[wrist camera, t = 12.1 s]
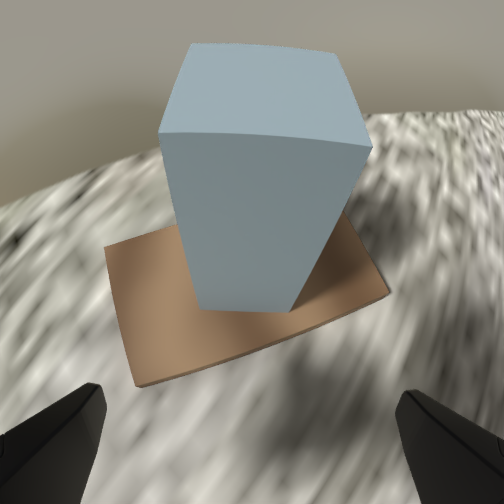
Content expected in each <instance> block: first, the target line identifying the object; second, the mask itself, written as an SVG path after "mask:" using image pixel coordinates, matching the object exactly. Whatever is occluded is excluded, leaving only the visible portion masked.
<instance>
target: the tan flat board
mask: <svg viewBox="0 0 504 504" xmlns="http://www.w3.org/2000/svg"><path fill="white" fill-rule="evenodd" d="M104 250H105V256H106V262H107V268H108V274H109V279H110V285H111V290H112V295H113V300H114V305H115V309H116V314H117V318H118V323H119V327H120V331H121V335H122V339H123V343H124V347H125V351H126V355H127V359H128V362H129V366H130V369H131V373H132V376H133V380H134V383H135V386H136V387H139V388H143V387H147V386H150V385H154V384H158V383H161V382H164V381H168V380H171V379H175V378H178V377H181V376H185V375H188V374H191V373H194V372H197V371H200V370H204V369H207V368H210V367H213V366H216V365H219V364H222V363H225V362H228V361H231V360H233V359H236V358H239V357H242V356H245V355H248V354H250V353H253V352H256V351H259V350H261V349H264V348H267V347H270V346H272V345H275V344H277V343H280V342H283V341H285V340H288V339H290V338H293V337H295V336H298V335H300V334H303V333H305V332H308V331H310V330H313V329H315V328H318V327H320V326H322V325H325V324H327V323H329V322H332V321H334V320H336V319H339V318H341V317H343V316H346V315H348V314H350V313H352V312H355V311H357V310H359V309H361V308H363V307H366V306H368V305H370V304H372V303H374V302H376V301H379V300H381V299H382V298H383V297H385V296H386V295H387V294H388V293H389V291H388V289H387V287H386V285H385V283H384V281H383V280H382V278H381V276H380V274H379V272H378V270H377V268H376V267H375V265H374V263H373V261H372V259H371V258H370V256H369V254H368V252H367V250H366V249H365V247H364V245H363V243H362V242H361V240H360V238H359V237H358V235H357V233H356V231H355V230H354V228H353V226H352V225H351V223H350V221H349V220H348V218H347V216H346V215H345V213H344V211H342V213H341V215H340V217H339V219H338V221H337V223H336V225H335V227H334V229H333V231H332V233H331V235H330V237H329V239H328V240H327V242H326V244H325V246H324V248H323V250H322V252H321V254H320V256H319V258H318V260H317V262H316V264H315V265H314V267H313V269H312V271H311V273H310V275H309V277H308V279H307V280H306V282H305V284H304V286H303V288H302V290H301V291H300V293H299V295H298V297H297V299H296V301H295V302H294V304H293V306H292V308H291V310H290V311H289V313H281V312H243V311H218V310H200V309H199V305H198V301H197V298H196V294H195V291H194V287H193V283H192V279H191V276H190V272H189V268H188V264H187V260H186V257H185V253H184V249H183V245H182V241H181V237H180V232H179V228H178V224H177V225H173V226H170V227H167V228H164V229H160V230H157V231H154V232H151V233H147V234H144V235H141V236H138V237H135V238H131V239H128V240H125V241H122V242H119V243H116V244H113V245H110V246H107V247H104Z"/></svg>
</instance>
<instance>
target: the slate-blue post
mask: <svg viewBox="0 0 504 504" xmlns="http://www.w3.org/2000/svg"><path fill="white" fill-rule="evenodd" d="M158 136H159V141H160V146H161V151H162V156H163V161H164V166H165V171H166V176H167V180H168V185H169V189H170V194H171V198H172V203H173V207H174V211H175V216H176V220H177V224H178V228H179V232H180V237H181V241H182V245H183V249H184V253H185V257H186V260H187V264H188V268H189V272H190V276H191V279H192V283H193V287H194V291H195V294H196V298H197V301H198V305H199V309H200V310H218V311H243V312H281V313H289V311H290V310H291V308H292V306H293V304H294V302H295V301H296V299H297V297H298V295H299V293H300V291H301V290H302V288H303V286H304V284H305V282H306V280H307V279H308V277H309V275H310V273H311V271H312V269H313V267H314V265H315V264H316V262H317V260H318V258H319V256H320V254H321V252H322V250H323V248H324V246H325V244H326V242H327V240H328V239H329V237H330V235H331V233H332V231H333V229H334V227H335V225H336V223H337V221H338V219H339V217H340V215H341V213H342V211H343V209H344V207H345V205H346V203H347V201H348V199H349V197H350V194H351V192H352V190H353V188H354V186H355V184H356V182H357V180H358V178H359V176H360V174H361V171H362V169H363V167H364V165H365V163H366V161H367V159H368V156H369V154H370V152H371V150H372V148H373V146H372V143H371V140H370V137H369V134H368V132H367V129H366V126H365V123H364V121H363V118H362V115H361V112H360V110H359V107H358V105H357V102H356V100H355V97H354V95H353V92H352V90H351V87H350V85H349V82H348V80H347V78H346V76H345V73H344V71H343V69H342V66H341V64H340V62H339V60H338V57H337V55H336V54H332V53H326V52H320V51H313V50H306V49H298V48H289V47H278V46H267V45H253V44H229V43H225V44H224V43H196V44H191V45H190V48H189V50H188V53H187V55H186V58H185V60H184V62H183V65H182V67H181V70H180V72H179V75H178V78H177V80H176V83H175V85H174V88H173V91H172V93H171V96H170V99H169V102H168V104H167V107H166V111H165V113H164V116H163V119H162V122H161V125H160V128H159V131H158Z"/></svg>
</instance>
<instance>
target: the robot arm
mask: <svg viewBox="0 0 504 504" xmlns="http://www.w3.org/2000/svg"><path fill="white" fill-rule="evenodd" d="M106 412H107V404H106V400H105V397H104V393H103V390H102V387H101V386H100V385H99V384H95V383H86V384H84V385H82V386H81V387H79V388H78V389H76V390H74V391H73V392H71V393H70V394H68V395H66V396H65V397H63V398H62V399H60V400H58V401H57V402H55V403H53V404H52V405H50V406H49V407H47V408H45V409H44V410H42V411H40V412H39V413H37V414H35V415H34V416H32V417H30V418H29V419H27V420H26V421H24V422H22V423H21V424H19V425H17V426H16V427H14V428H12V429H11V430H9V431H7V432H6V433H5V435H4V434H2V435H0V504H80V503H81V499H82V496H83V493H84V490H85V487H86V484H87V481H88V478H89V475H90V472H91V469H92V466H93V463H94V460H95V457H96V454H97V451H98V447H99V442H100V438H101V433H102V429H103V424H104V420H105V416H106ZM395 416H396V420H397V424H398V428H399V432H400V437H401V441H402V445H403V449H404V453H405V456H406V460H407V462H408V465H409V468H410V471H411V474H412V477H413V480H414V483H415V486H416V489H417V492H418V495H419V498H420V501H421V504H504V440H503V439H501V438H499V437H497V436H496V435H494V434H492V433H490V432H489V431H487V430H485V429H483V428H482V427H480V426H478V425H476V424H475V423H473V422H471V421H469V420H468V419H466V418H464V417H462V416H461V415H459V414H457V413H456V412H454V411H452V410H450V409H449V408H447V407H445V406H444V405H442V404H440V403H439V402H437V401H435V400H434V399H432V398H430V397H429V396H427V395H425V394H424V393H422V392H420V391H419V390H416V389H412V390H406V391H404V392H403V394H402V396H401V398H400V401H399V403H398V406H397V408H396V412H395Z"/></svg>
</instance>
